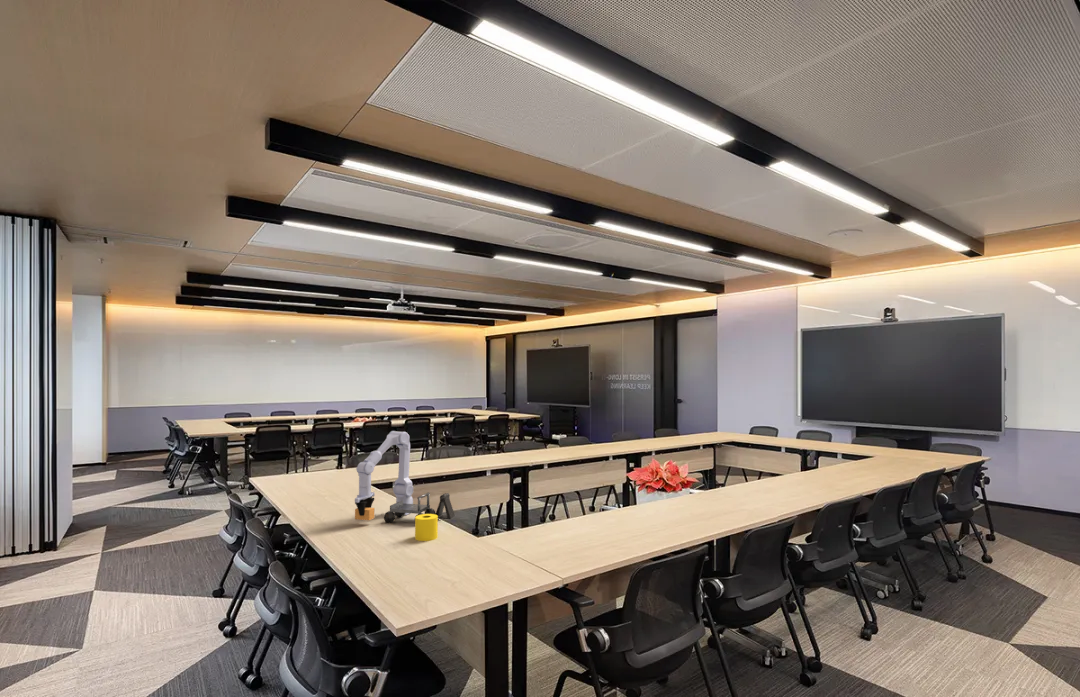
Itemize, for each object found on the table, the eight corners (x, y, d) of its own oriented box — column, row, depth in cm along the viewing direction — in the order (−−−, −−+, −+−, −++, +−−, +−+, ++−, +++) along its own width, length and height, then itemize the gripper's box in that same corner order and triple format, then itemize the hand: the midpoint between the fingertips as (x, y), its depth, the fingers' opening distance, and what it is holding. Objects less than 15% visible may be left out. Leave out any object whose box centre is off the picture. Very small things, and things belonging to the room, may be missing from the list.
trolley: (395, 516, 283) (396, 490, 284) (435, 519, 278) (435, 492, 278) (383, 522, 272) (384, 495, 272) (424, 525, 266) (425, 497, 267)
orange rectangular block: (360, 517, 272) (360, 506, 272) (374, 518, 270) (374, 507, 270) (354, 519, 268) (355, 509, 268) (369, 520, 266) (369, 510, 266)
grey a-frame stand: (454, 516, 284) (455, 493, 284) (450, 519, 278) (450, 495, 278) (438, 515, 286) (438, 492, 286) (434, 518, 280) (434, 494, 280)
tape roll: (417, 542, 240) (417, 520, 240) (413, 536, 249) (413, 515, 249) (439, 539, 244) (440, 518, 244) (434, 533, 253) (434, 513, 253)
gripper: (366, 483, 278) (365, 510, 277) (349, 489, 264) (348, 517, 263) (378, 483, 276) (378, 510, 275) (362, 489, 262) (361, 518, 261)
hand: (364, 514), depth 269 cm, fingers closed on orange rectangular block, 4 cm apart
